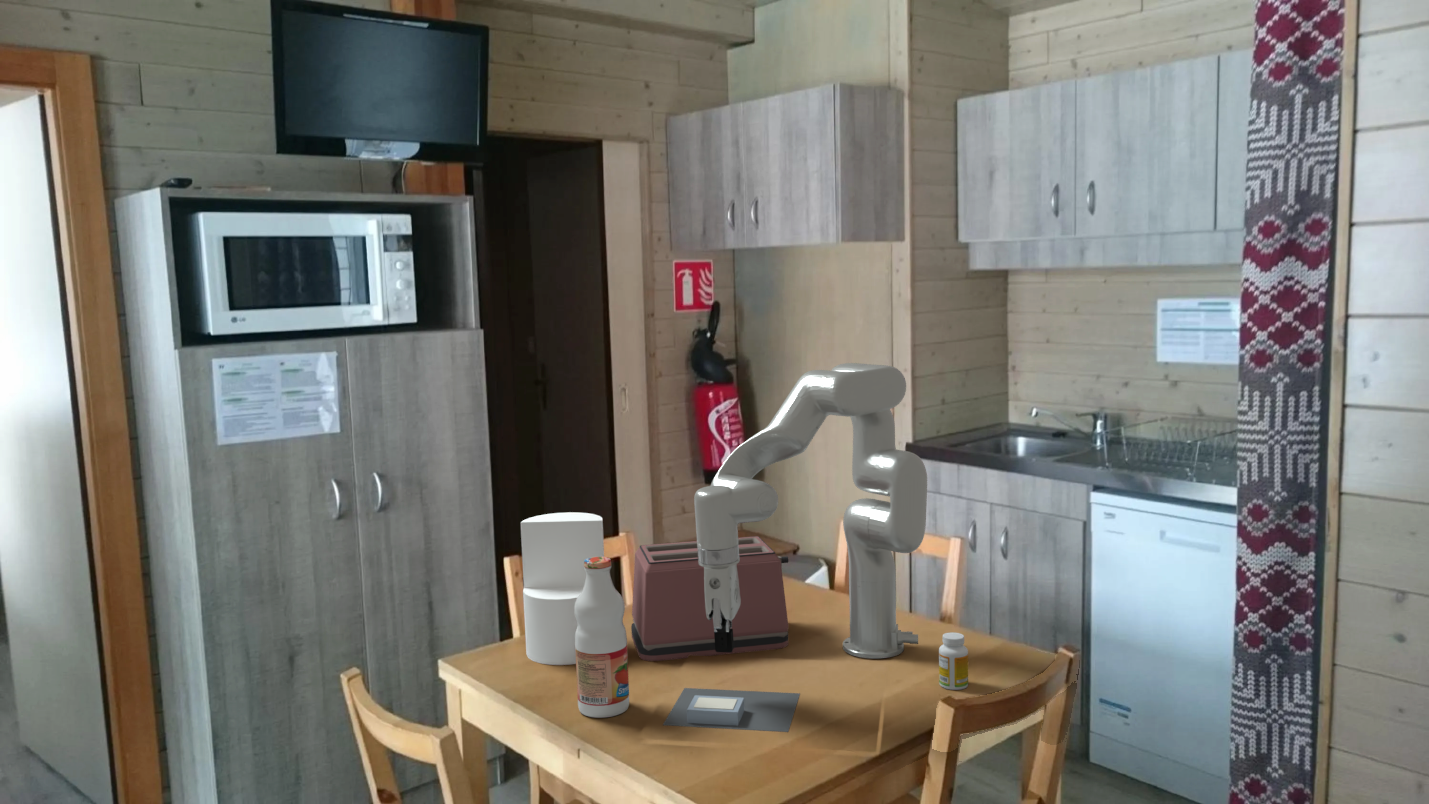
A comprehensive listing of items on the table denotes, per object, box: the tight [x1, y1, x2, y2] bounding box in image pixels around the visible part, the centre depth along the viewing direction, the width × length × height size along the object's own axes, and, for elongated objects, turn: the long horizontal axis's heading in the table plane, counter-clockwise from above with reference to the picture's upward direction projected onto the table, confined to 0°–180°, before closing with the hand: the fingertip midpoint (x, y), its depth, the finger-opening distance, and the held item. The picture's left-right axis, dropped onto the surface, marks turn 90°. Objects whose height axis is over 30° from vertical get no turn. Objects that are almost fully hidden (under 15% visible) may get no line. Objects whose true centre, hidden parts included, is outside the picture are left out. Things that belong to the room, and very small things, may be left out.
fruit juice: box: [574, 556, 630, 719], centre depth 196 cm, size 9×9×28 cm
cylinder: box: [520, 511, 605, 666], centre depth 228 cm, size 17×17×28 cm
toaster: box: [631, 535, 789, 662], centre depth 232 cm, size 19×34×20 cm, turn 101°
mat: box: [662, 687, 801, 733], centre depth 194 cm, size 22×17×1 cm
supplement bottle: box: [938, 632, 969, 691], centre depth 203 cm, size 5×5×10 cm
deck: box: [687, 695, 744, 726], centre depth 191 cm, size 9×3×6 cm
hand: (724, 650), depth 198 cm, fingers closed
